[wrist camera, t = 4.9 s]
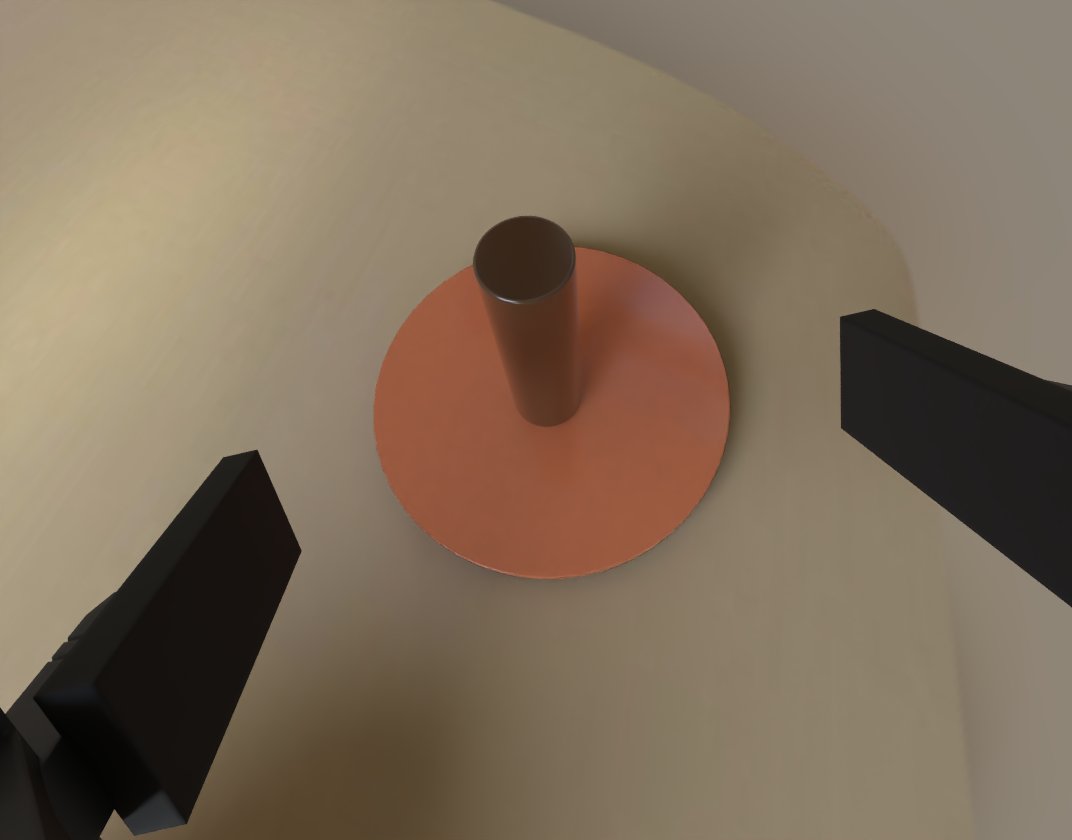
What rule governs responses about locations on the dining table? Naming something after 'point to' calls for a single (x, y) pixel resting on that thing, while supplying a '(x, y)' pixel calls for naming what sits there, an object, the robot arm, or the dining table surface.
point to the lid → (551, 407)
